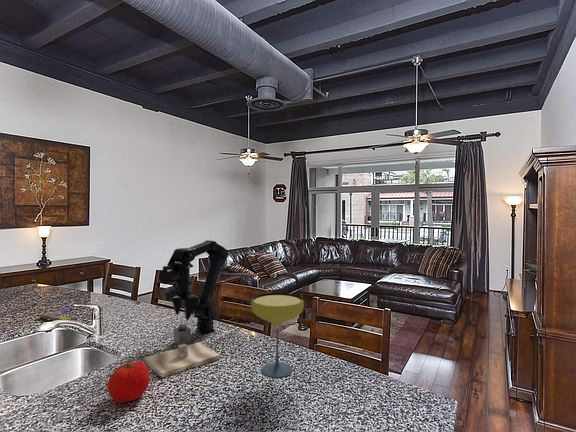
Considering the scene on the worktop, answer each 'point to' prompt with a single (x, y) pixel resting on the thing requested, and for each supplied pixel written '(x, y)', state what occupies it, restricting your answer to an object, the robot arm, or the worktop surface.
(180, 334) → the socket
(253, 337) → the worktop surface
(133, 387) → the tomato
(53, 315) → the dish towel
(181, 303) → the robot arm
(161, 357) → the board
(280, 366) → the cocktail glass
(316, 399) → the worktop surface
